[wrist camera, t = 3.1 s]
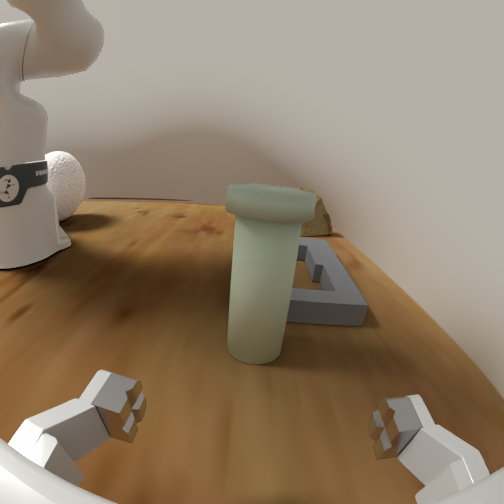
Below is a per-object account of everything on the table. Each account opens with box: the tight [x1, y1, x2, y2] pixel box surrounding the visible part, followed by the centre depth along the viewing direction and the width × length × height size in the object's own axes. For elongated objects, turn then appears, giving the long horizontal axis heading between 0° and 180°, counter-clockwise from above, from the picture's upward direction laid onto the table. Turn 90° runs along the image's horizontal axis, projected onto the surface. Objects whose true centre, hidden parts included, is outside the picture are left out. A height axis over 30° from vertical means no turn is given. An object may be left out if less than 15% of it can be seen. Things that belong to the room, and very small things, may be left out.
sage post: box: [226, 183, 317, 365], centre depth 20 cm, size 6×6×12 cm
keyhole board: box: [286, 237, 368, 326], centre depth 36 cm, size 22×13×2 cm, turn 177°
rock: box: [300, 188, 333, 236], centre depth 57 cm, size 10×8×10 cm
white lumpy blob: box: [28, 151, 86, 221], centre depth 48 cm, size 20×18×16 cm
